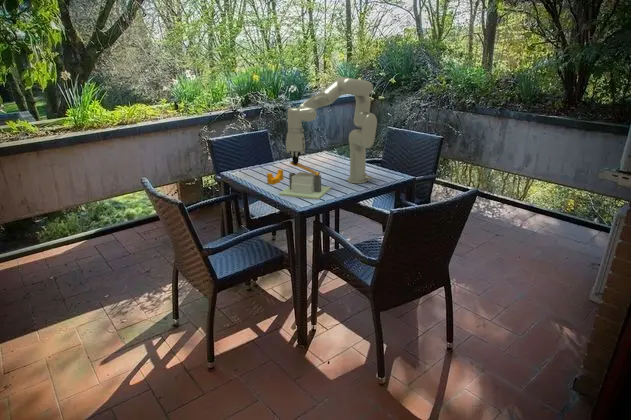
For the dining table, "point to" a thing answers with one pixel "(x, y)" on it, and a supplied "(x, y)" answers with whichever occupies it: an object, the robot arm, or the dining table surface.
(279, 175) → the pipe clamp
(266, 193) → the dining table surface
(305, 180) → the board
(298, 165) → the strap
